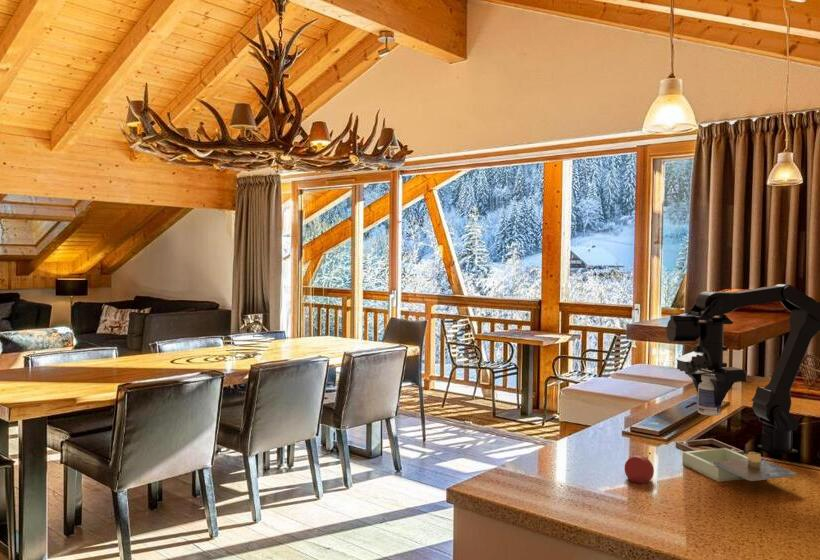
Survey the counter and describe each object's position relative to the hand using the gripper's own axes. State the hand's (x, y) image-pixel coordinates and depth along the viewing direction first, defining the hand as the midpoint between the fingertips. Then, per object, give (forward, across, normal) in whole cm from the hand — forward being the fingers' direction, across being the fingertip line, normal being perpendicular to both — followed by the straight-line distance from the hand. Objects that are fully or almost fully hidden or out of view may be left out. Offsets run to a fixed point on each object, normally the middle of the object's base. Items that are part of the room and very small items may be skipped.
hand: (709, 403), depth 164 cm
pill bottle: (+3, 0, 0) cm, 3 cm away
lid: (+9, +23, -7) cm, 25 cm away
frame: (+12, 0, 0) cm, 12 cm away
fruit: (+12, +13, -28) cm, 33 cm away
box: (+12, +13, -7) cm, 19 cm away
